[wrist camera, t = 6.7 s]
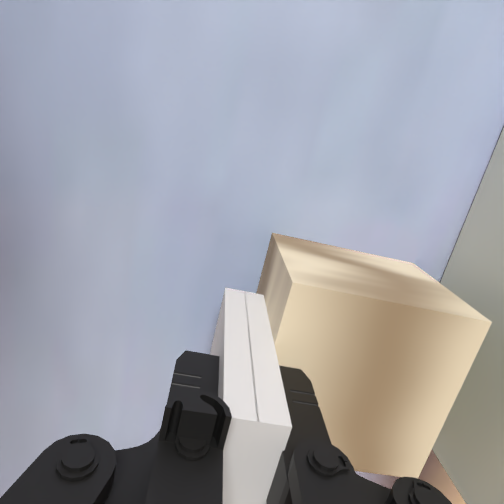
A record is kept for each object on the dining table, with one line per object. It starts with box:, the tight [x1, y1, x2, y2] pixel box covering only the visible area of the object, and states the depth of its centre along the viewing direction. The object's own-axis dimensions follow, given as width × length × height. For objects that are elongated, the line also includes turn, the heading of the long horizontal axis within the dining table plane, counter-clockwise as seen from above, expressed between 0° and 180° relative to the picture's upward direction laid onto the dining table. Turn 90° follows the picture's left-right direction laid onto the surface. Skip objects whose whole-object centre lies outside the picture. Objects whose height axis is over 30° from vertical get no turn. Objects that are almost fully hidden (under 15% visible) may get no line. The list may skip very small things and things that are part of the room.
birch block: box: [256, 233, 492, 479], centre depth 14 cm, size 6×6×5 cm
